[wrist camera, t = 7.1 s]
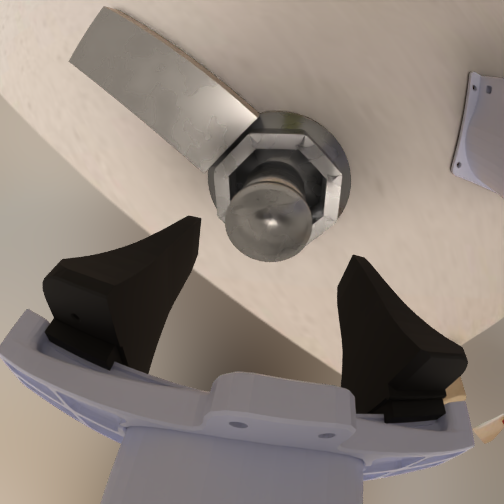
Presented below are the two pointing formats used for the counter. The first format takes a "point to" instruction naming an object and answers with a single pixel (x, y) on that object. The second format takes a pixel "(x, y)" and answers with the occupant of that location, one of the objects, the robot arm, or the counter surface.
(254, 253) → the metal knob
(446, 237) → the counter surface
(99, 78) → the grey piece
